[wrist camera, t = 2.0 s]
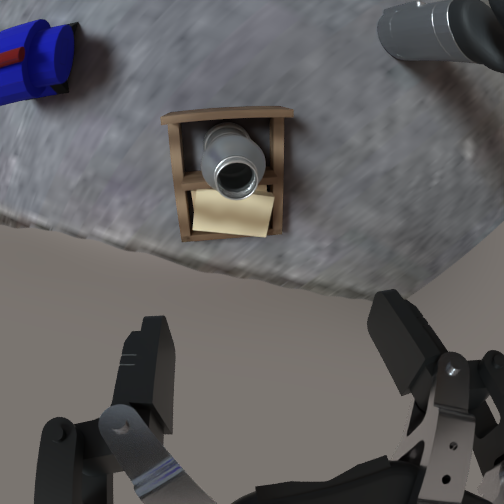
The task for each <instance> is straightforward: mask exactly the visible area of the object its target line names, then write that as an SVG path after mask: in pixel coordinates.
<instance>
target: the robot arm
mask: <svg viewBox="0 0 504 504" xmlns="http://www.w3.org/2000/svg"><path fill="white" fill-rule="evenodd" d="M489 4H490V6H491V8H490V7H489V6H488V5H486V4H485V3H484V2H482V1H480V0H444V1H438V2H433V3H428V4H426V3H423V2H421V1H412V2H409V3H405V4H401V5H398V6H394V7H391V8H388V9H385V10H384V15H383V16H382V18H381V19H380V21H379V23H378V35H379V39H380V41H381V43H382V45H383V47H384V48H385V49H386V50H387V52H388V53H390V54H391V55H392V56H393V57H395V58H397V59H400V60H405V61H416V60H419V61H452V62H466V63H476V64H484V65H485V66H487V67H488V68H490V69H492V70H494V71H497V72H500V73H504V0H489ZM367 327H368V332H369V334H370V336H371V338H372V340H373V342H374V344H375V346H376V347H377V349H378V351H379V353H380V355H381V357H382V358H383V361H384V363H385V364H386V366H387V368H388V370H389V372H390V374H391V376H392V378H393V380H394V382H395V384H396V386H397V388H398V390H399V392H400V394H401V396H403V395H406V394H409V393H412V395H413V398H412V400H411V403H410V408H409V412H408V416H407V420H406V424H405V428H404V431H403V435H402V438H401V441H400V443H399V445H398V446H397V448H396V450H395V452H394V454H393V456H392V458H391V460H388V458H387V456H386V455H385V456H382V457H379V458H376V459H374V460H371V461H368V462H365V463H362V464H358V465H356V466H355V467H353V468H351V469H350V470H348V471H346V472H344V473H343V474H341V475H339V476H337V477H335V478H333V479H331V480H329V481H325V482H294V481H290V482H284V483H278V484H272V485H264V486H257V487H256V491H255V492H252V493H250V494H247V495H245V496H243V497H241V498H239V499H238V500H236V501H234V502H233V503H232V504H504V355H503V354H502V353H500V352H499V351H496V350H491V351H488V352H487V353H486V354H485V356H484V357H483V359H482V360H473V361H467V360H466V359H465V358H464V357H463V356H462V355H460V354H458V353H456V352H448V351H447V349H446V348H445V346H444V345H443V344H442V342H441V341H440V339H439V338H438V336H437V335H436V333H435V332H434V331H433V329H432V328H431V326H430V325H428V322H427V321H426V319H425V318H423V315H422V314H421V313H420V311H419V310H418V309H417V307H416V306H414V305H413V304H412V303H410V302H409V301H408V300H404V299H403V298H402V297H401V295H400V294H399V293H398V292H397V290H395V289H391V290H385V291H380V292H377V293H376V294H375V297H374V300H373V304H372V307H371V310H370V314H369V317H368V321H367ZM174 373H175V347H174V343H173V339H172V336H171V333H170V330H169V326H168V323H167V320H166V317H165V316H146V317H144V318H143V322H142V327H141V331H132V332H131V334H130V335H129V336H128V338H127V339H126V341H125V342H124V346H123V350H122V356H121V360H120V366H119V370H118V374H117V380H116V384H115V389H114V395H113V400H112V404H111V406H110V407H109V408H107V409H106V410H105V411H104V412H103V413H102V415H101V416H100V418H98V419H95V420H92V421H87V422H83V423H78V424H73V423H72V422H71V421H69V420H68V419H66V418H63V417H56V418H53V419H51V420H50V421H48V422H47V423H46V424H45V426H44V428H43V431H42V435H41V441H40V447H39V455H38V462H37V470H36V480H35V494H34V504H113V473H115V472H121V471H125V473H126V474H127V476H128V477H129V478H130V480H131V481H132V483H133V485H134V490H135V492H136V494H137V495H138V497H139V498H140V500H141V501H142V502H143V503H144V504H217V503H216V502H215V501H214V500H213V499H212V498H211V497H210V496H209V495H208V494H207V493H206V492H205V491H204V490H203V489H202V488H201V487H200V486H199V485H198V484H197V483H196V482H195V481H194V480H193V479H192V478H191V477H190V476H189V475H188V474H187V473H186V472H185V470H184V469H183V468H182V467H181V466H180V465H179V464H178V463H177V462H176V460H175V459H174V458H173V457H172V456H171V455H170V453H169V452H168V451H167V450H166V449H165V447H164V446H163V438H164V437H163V436H164V434H172V433H173V428H172V427H173V396H174ZM489 395H490V396H491V397H492V399H493V401H494V403H495V405H496V407H497V409H498V411H499V413H500V417H501V419H500V423H499V424H497V423H496V421H495V419H494V417H493V415H492V413H491V411H490V408H489V406H488V405H487V403H486V401H485V400H486V399H487V398H488V396H489ZM472 449H473V451H474V454H475V457H476V459H477V462H478V464H479V467H480V470H481V473H482V475H483V481H482V483H481V484H480V485H479V486H478V492H479V494H483V498H482V497H479V496H477V495H475V494H473V493H470V492H468V491H466V490H465V486H466V482H467V477H468V472H469V466H470V461H471V455H472Z"/></svg>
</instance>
